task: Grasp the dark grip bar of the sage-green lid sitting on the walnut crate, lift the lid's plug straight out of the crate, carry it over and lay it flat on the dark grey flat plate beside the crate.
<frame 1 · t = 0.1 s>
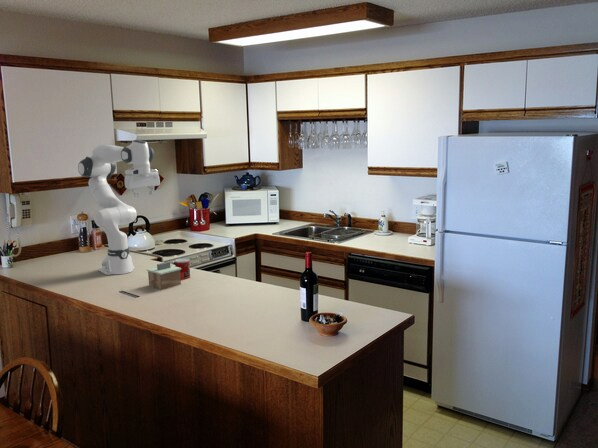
hand: (143, 195, 299), 48 cm above the table, fingers open, 8 cm apart
crate: (165, 286, 295), on the table
lid: (164, 270, 294), point 9 cm above the table, touching crate
dark grey flat plate: (141, 291, 288), on the table
canned food: (183, 279, 309), on the table
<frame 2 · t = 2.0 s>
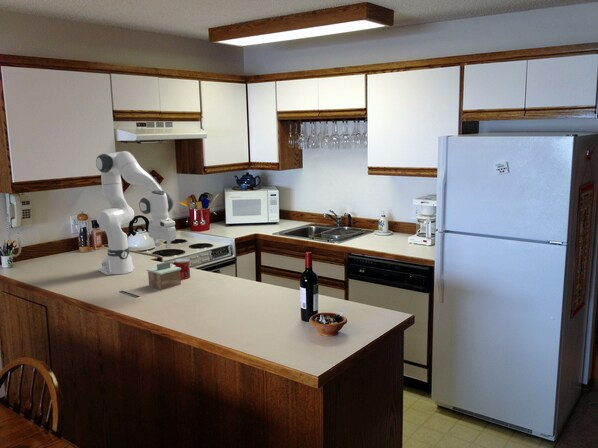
hand: (162, 247, 291), 22 cm above the table, fingers open, 8 cm apart
nothing on the table moved.
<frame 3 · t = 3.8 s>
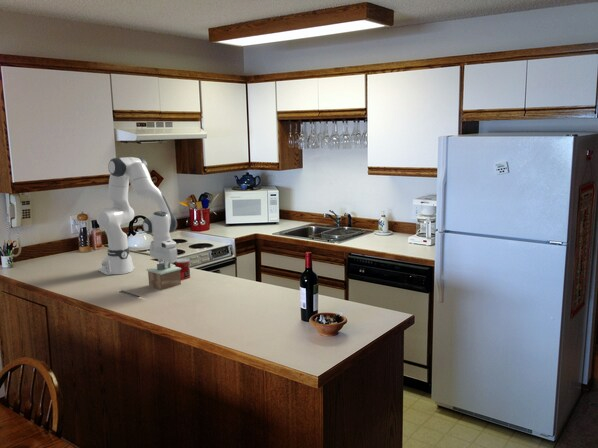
hand: (163, 267, 293), 10 cm above the table, fingers closed on lid
lid: (164, 270, 294), point 9 cm above the table, touching crate, gripper
everything else where it was.
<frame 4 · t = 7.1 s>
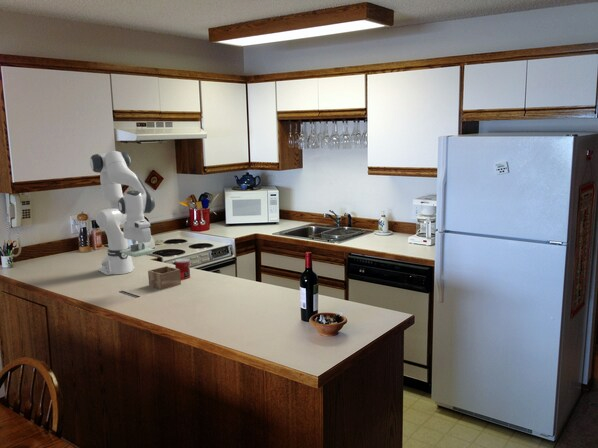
hand: (137, 248, 284), 23 cm above the table, fingers closed on lid
lid: (137, 251, 284), point 21 cm above the table, touching gripper
everything else where it was.
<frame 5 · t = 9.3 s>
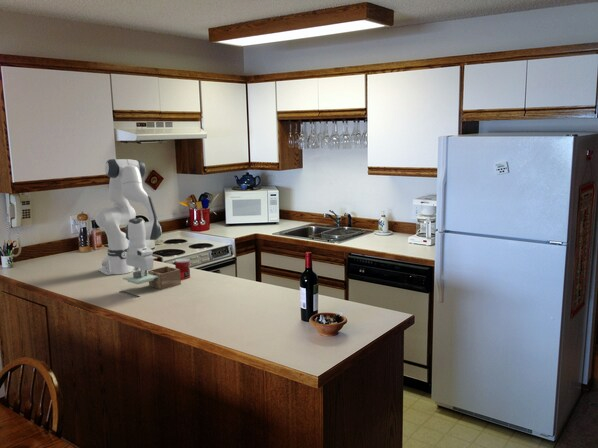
hand: (140, 275, 286), 8 cm above the table, fingers closed on lid
lid: (140, 278, 286), point 7 cm above the table, touching gripper
everything else where it was.
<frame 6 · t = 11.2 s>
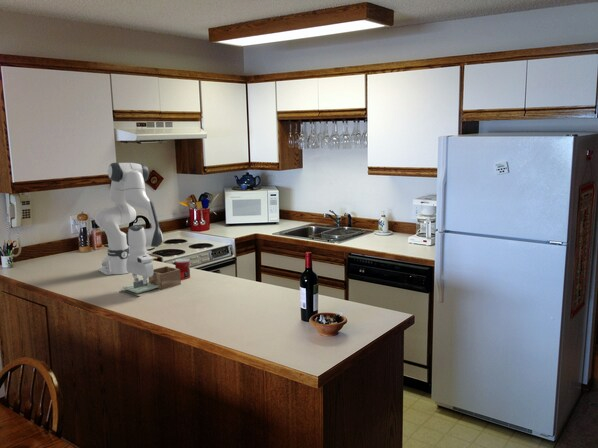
hand: (140, 282, 287), 5 cm above the table, fingers open, 6 cm apart
lid: (140, 287, 287), point 2 cm above the table, touching dark grey flat plate
everything else where it was.
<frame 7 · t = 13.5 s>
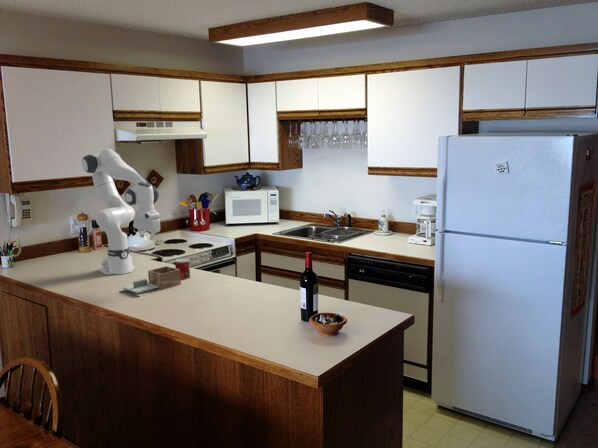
hand: (147, 238, 293), 26 cm above the table, fingers open, 8 cm apart
nothing on the table moved.
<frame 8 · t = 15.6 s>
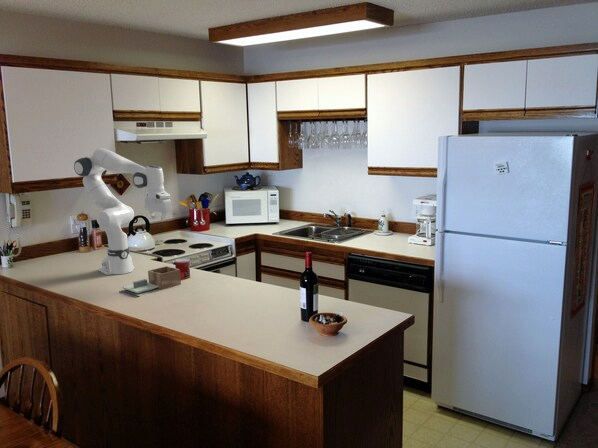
hand: (158, 219, 304), 34 cm above the table, fingers open, 8 cm apart
nothing on the table moved.
at the end: lid inside the target area (0.1 cm from its centre), point 1.7 cm above the table; lid tilted 0°; lid touching dark grey flat plate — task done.
